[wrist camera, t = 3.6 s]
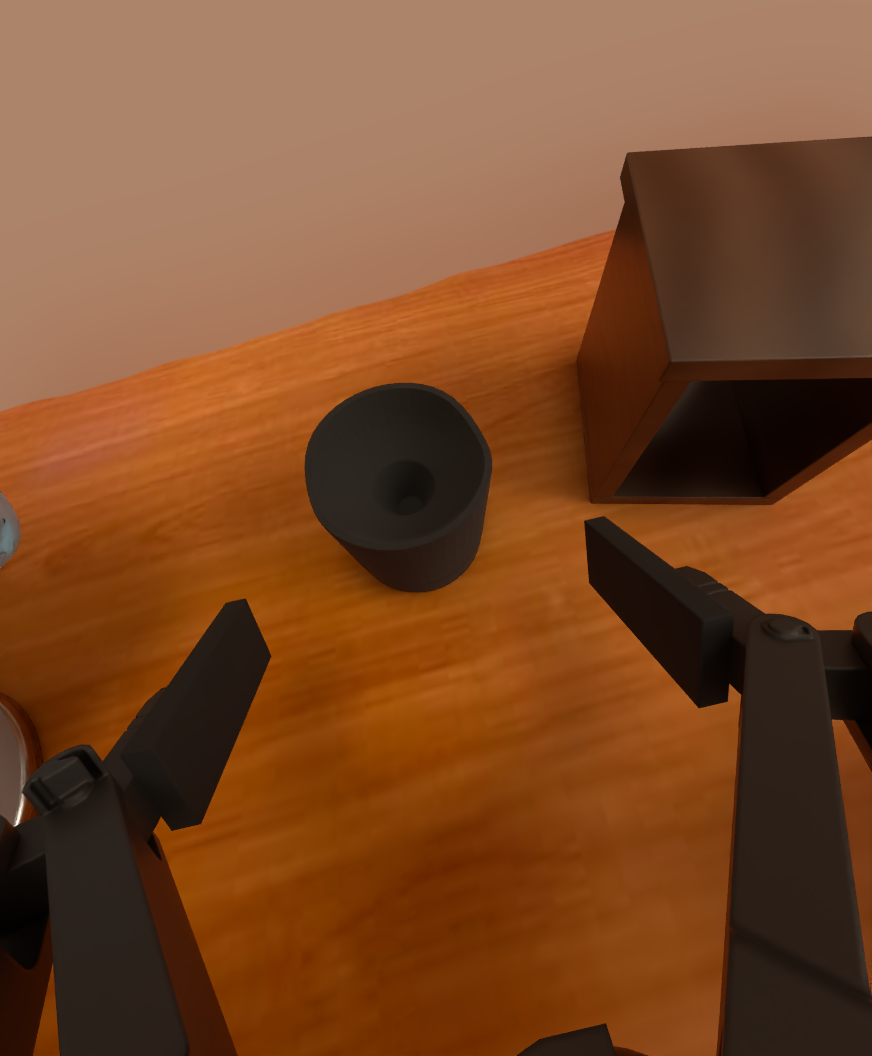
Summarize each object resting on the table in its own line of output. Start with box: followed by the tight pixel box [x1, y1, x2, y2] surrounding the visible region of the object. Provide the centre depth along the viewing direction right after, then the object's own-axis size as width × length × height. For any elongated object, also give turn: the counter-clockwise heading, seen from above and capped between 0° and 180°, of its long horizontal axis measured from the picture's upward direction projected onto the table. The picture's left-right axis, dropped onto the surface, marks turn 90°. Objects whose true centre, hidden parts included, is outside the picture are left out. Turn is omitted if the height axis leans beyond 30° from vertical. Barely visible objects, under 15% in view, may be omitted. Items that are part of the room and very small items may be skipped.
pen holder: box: [305, 383, 492, 592], centre depth 25 cm, size 9×9×10 cm
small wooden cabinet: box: [577, 137, 872, 504], centre depth 25 cm, size 13×14×14 cm
